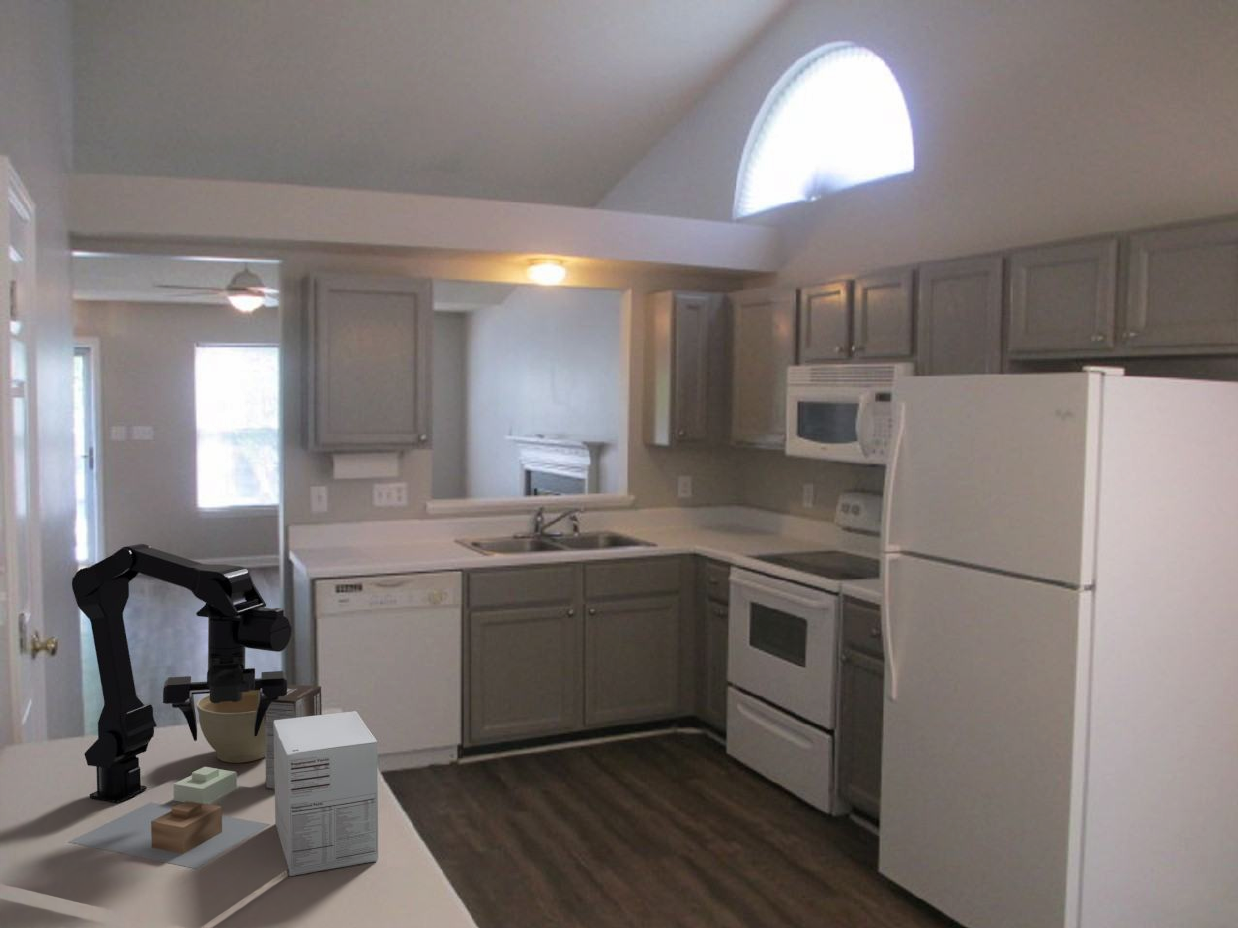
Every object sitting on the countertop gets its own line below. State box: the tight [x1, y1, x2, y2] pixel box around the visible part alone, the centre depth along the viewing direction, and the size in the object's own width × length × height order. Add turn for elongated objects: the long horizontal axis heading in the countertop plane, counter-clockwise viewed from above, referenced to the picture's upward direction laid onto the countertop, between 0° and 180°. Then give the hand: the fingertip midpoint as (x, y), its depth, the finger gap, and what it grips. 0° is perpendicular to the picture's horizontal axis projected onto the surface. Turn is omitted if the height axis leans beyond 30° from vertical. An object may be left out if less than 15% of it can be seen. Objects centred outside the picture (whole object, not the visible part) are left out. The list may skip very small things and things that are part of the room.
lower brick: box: [151, 801, 223, 854], centre depth 155 cm, size 8×6×5 cm
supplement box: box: [273, 710, 379, 877], centre depth 155 cm, size 17×13×18 cm
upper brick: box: [173, 766, 238, 804], centre depth 172 cm, size 8×6×5 cm
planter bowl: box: [196, 690, 265, 764], centre depth 194 cm, size 16×16×11 cm
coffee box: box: [264, 684, 323, 790], centre depth 181 cm, size 9×6×16 cm
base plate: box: [68, 801, 271, 870], centre depth 157 cm, size 24×16×1 cm, turn 70°
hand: (225, 737), depth 168 cm, fingers open, 9 cm apart
